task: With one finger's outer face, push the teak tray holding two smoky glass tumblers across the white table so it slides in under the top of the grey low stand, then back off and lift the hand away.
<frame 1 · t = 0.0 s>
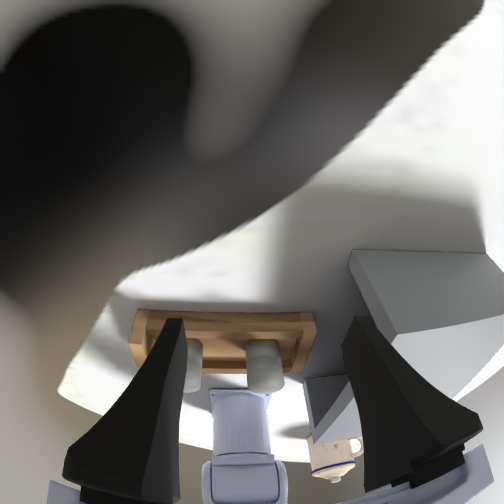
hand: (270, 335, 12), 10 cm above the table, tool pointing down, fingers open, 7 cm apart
teacup with lid: (333, 431, 49), on the table
teak tray: (224, 336, 27), on the table
grey low stand: (395, 328, 29), on the table
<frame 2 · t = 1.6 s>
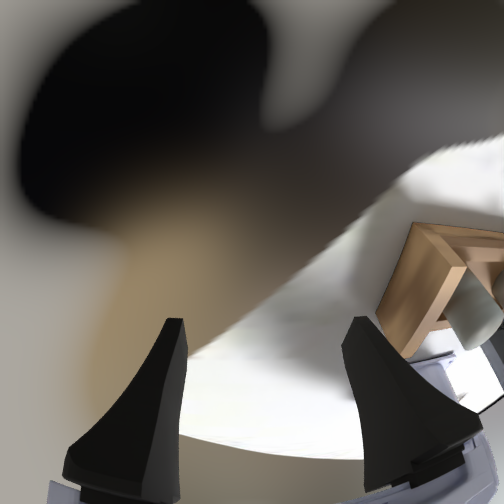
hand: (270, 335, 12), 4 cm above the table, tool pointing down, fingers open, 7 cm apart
teak tray: (473, 271, 16), on the table
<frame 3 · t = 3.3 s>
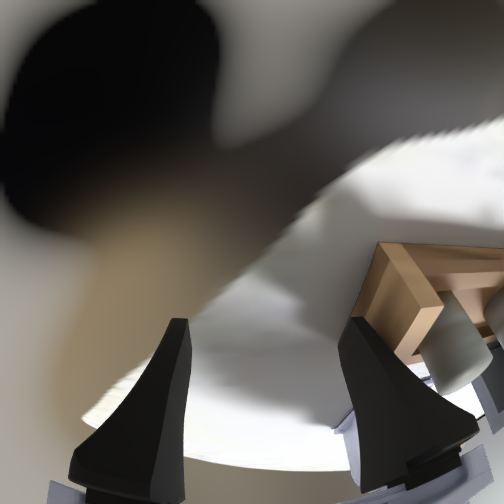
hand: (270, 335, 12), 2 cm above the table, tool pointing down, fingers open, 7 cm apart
teak tray: (461, 293, 14), on the table, touching gripper
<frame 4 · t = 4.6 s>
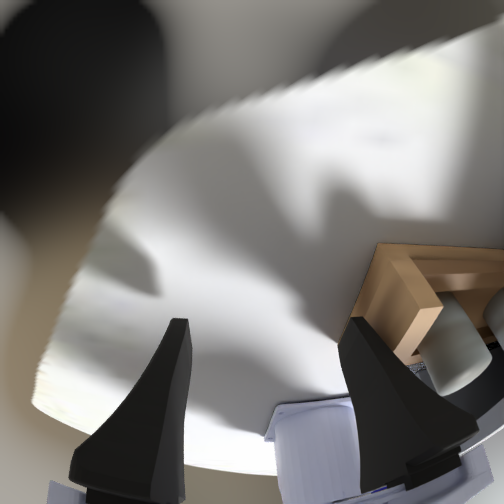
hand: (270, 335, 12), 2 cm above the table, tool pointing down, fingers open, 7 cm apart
teak tray: (461, 294, 14), on the table, touching gripper
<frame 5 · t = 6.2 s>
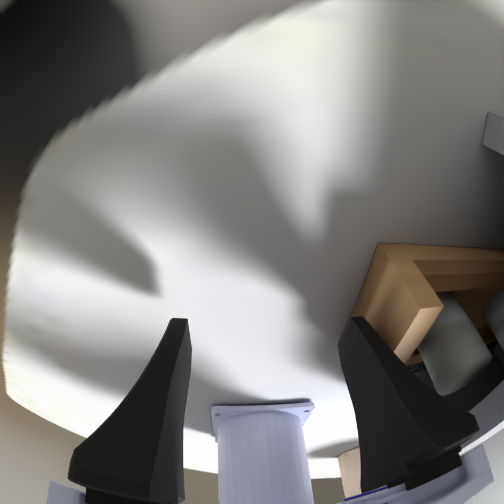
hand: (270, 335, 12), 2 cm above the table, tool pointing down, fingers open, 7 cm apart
teacup with lid: (370, 445, 35), on the table
teak tray: (461, 294, 14), on the table, touching gripper
grey low stand: (502, 289, 15), on the table
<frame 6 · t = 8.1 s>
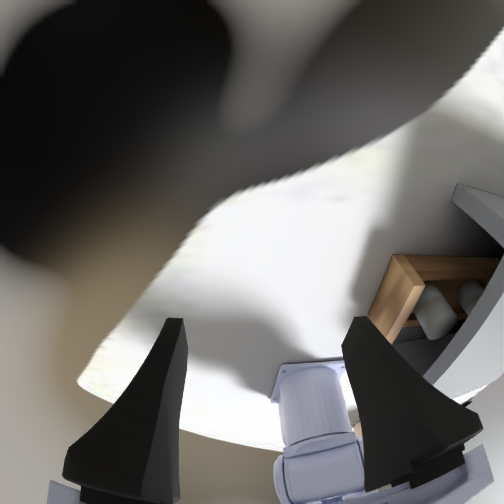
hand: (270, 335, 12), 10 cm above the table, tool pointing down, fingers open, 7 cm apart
teak tray: (441, 284, 24), on the table
grey low stand: (471, 282, 25), on the table
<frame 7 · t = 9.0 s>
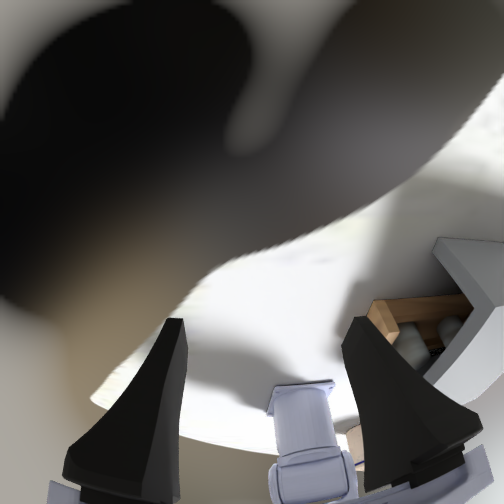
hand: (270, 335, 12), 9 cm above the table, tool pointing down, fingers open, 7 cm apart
teacup with lid: (370, 424, 48), on the table
teak tray: (421, 319, 27), on the table
grey low stand: (452, 314, 28), on the table
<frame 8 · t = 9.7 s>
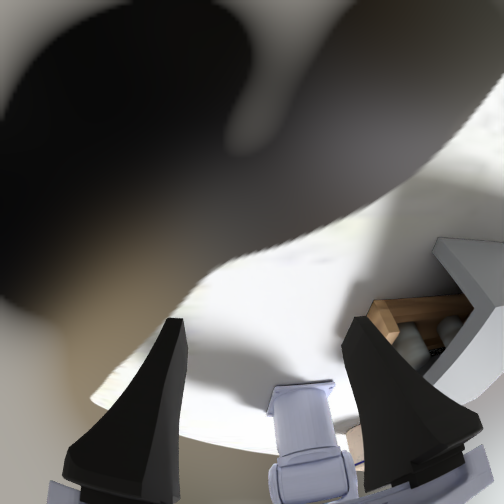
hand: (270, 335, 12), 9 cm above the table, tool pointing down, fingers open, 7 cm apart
teacup with lid: (370, 424, 48), on the table
teak tray: (421, 319, 27), on the table
grey low stand: (452, 314, 28), on the table
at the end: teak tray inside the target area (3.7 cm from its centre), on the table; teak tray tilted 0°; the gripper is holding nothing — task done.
